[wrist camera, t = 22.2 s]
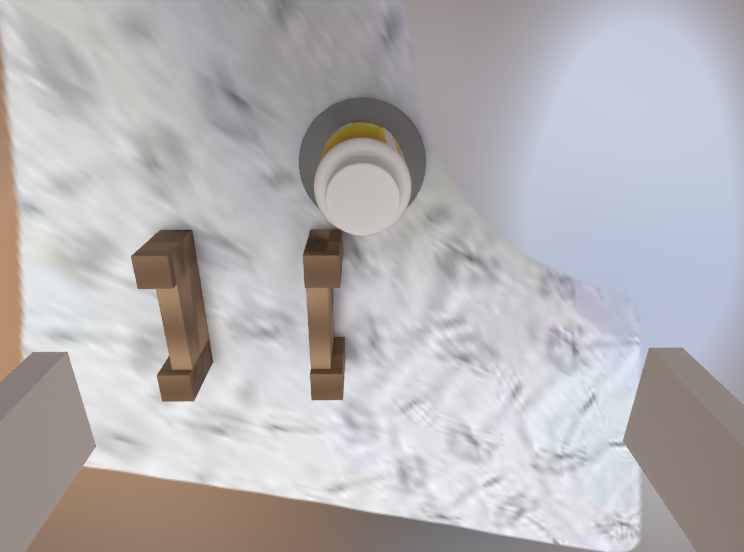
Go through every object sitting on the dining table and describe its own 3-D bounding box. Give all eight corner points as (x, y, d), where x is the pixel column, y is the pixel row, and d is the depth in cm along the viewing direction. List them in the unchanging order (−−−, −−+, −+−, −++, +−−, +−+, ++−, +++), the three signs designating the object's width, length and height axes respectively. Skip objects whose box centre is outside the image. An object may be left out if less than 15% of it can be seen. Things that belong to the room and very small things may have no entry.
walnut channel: (160, 230, 37) (130, 256, 33) (341, 229, 38) (338, 255, 33) (184, 362, 42) (162, 401, 38) (345, 361, 43) (342, 400, 38)
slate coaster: (296, 97, 34) (295, 98, 33) (427, 98, 34) (428, 98, 33) (303, 223, 37) (302, 226, 37) (421, 223, 38) (422, 225, 37)
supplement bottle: (306, 161, 35) (286, 202, 26) (361, 101, 33) (360, 121, 24) (363, 213, 37) (364, 270, 27) (417, 159, 35) (438, 199, 26)
